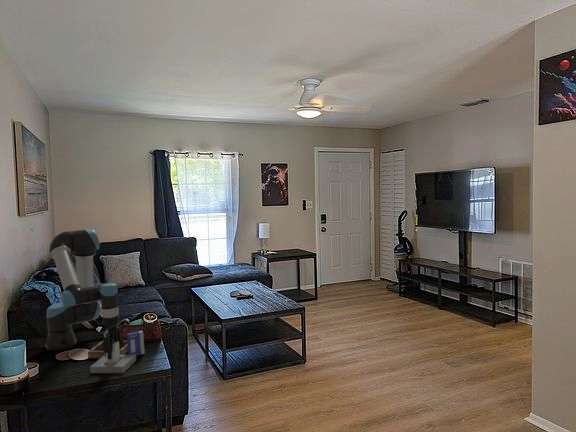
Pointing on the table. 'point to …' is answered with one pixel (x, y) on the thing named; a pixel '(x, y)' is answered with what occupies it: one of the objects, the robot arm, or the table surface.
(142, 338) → the walkman
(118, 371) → the socket plate
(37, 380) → the table surface
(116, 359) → the plug
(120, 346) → the pottery mug
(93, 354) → the mug frame
